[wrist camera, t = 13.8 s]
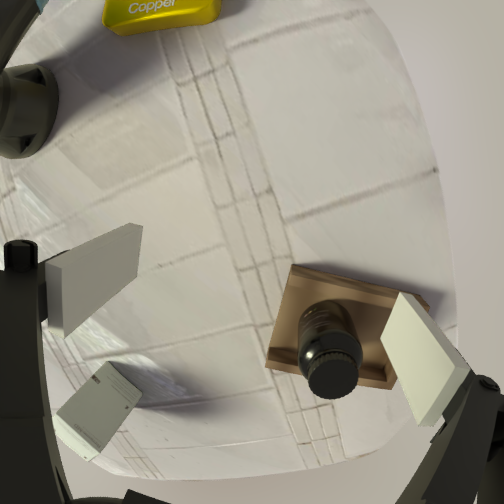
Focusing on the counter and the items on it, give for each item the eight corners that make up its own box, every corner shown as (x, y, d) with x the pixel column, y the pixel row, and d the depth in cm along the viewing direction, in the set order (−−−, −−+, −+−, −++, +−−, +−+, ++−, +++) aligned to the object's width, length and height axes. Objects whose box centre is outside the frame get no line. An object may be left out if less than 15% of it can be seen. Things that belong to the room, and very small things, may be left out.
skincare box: (144, 392, 47) (104, 455, 32) (127, 407, 48) (89, 465, 34) (105, 358, 46) (54, 413, 32) (91, 374, 48) (44, 427, 33)
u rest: (267, 351, 42) (265, 367, 38) (291, 264, 38) (291, 274, 35) (385, 373, 40) (391, 390, 37) (419, 295, 37) (430, 307, 33)
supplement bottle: (361, 327, 38) (382, 384, 27) (317, 356, 40) (323, 418, 28) (331, 287, 37) (345, 337, 26) (286, 319, 39) (281, 376, 28)
